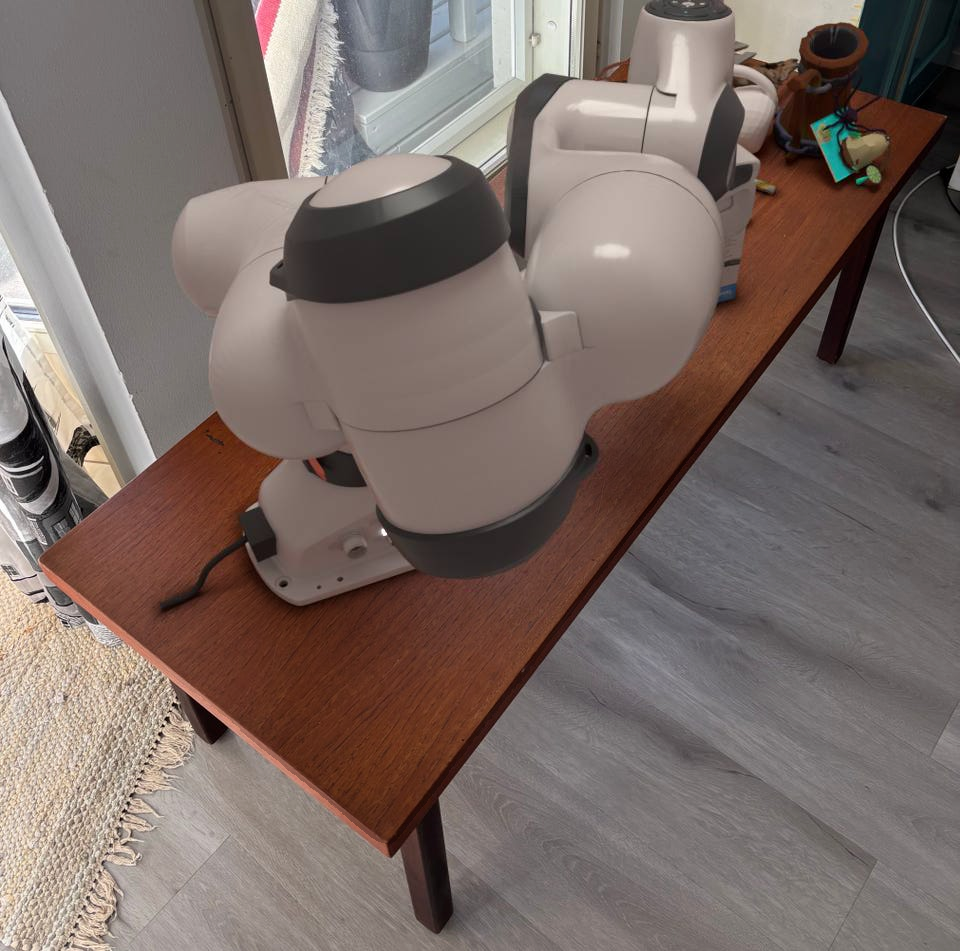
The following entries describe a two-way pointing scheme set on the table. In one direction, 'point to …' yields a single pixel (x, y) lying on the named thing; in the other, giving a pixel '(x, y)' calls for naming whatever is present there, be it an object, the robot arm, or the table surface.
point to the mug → (819, 84)
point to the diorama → (850, 141)
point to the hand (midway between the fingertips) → (654, 294)
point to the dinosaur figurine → (770, 74)
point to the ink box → (731, 266)
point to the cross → (745, 56)
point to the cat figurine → (755, 107)
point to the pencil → (765, 186)
